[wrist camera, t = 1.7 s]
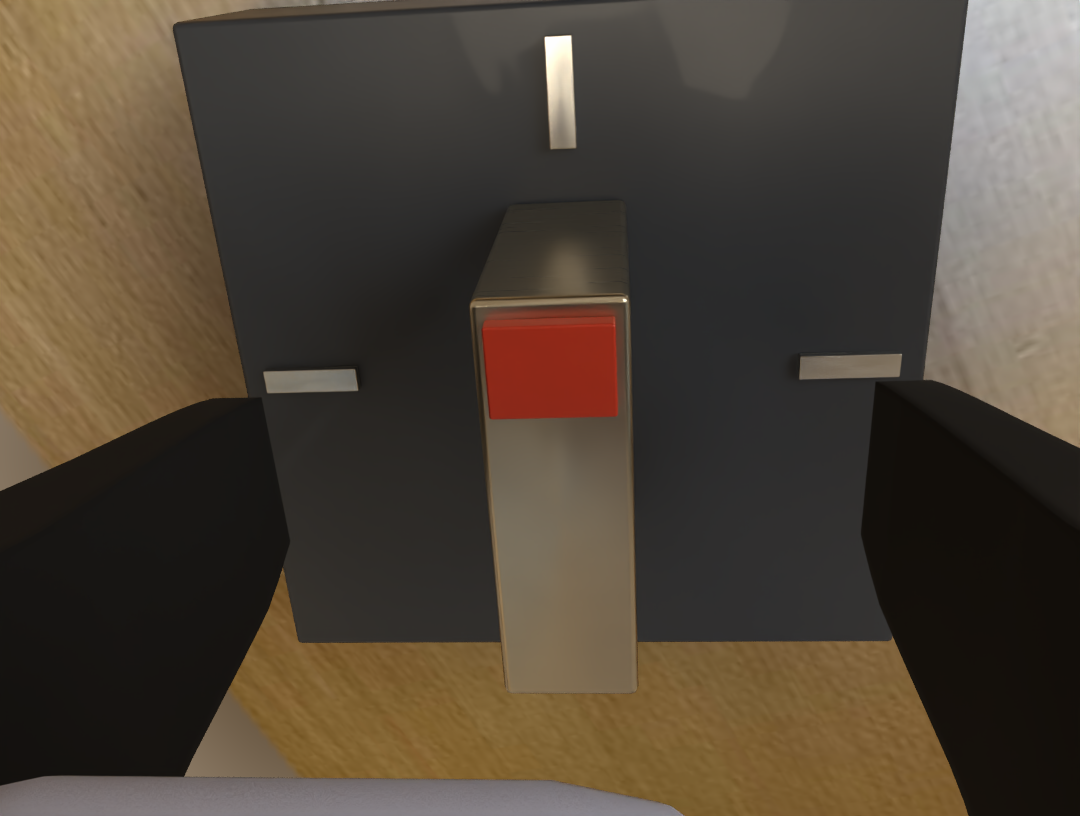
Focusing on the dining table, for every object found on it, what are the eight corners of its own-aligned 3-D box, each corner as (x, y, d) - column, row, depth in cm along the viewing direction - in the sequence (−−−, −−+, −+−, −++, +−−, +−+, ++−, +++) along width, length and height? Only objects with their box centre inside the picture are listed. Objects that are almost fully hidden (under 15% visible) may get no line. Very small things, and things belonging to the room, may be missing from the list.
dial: (632, 517, 15) (638, 711, 11) (530, 519, 15) (502, 710, 11) (625, 198, 13) (629, 303, 9) (506, 203, 13) (462, 308, 9)
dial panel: (852, 541, 19) (895, 649, 16) (341, 547, 19) (294, 650, 17) (905, -31, 14) (978, -26, 11) (248, 9, 15) (163, 23, 12)
